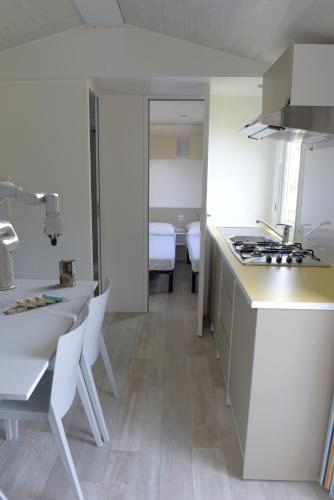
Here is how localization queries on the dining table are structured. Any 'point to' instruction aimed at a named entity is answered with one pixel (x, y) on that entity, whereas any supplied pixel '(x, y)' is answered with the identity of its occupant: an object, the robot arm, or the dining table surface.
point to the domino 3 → (34, 301)
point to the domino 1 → (15, 309)
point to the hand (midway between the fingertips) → (54, 245)
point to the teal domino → (52, 297)
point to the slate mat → (47, 304)
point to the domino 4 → (43, 299)
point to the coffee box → (67, 272)
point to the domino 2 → (25, 303)
